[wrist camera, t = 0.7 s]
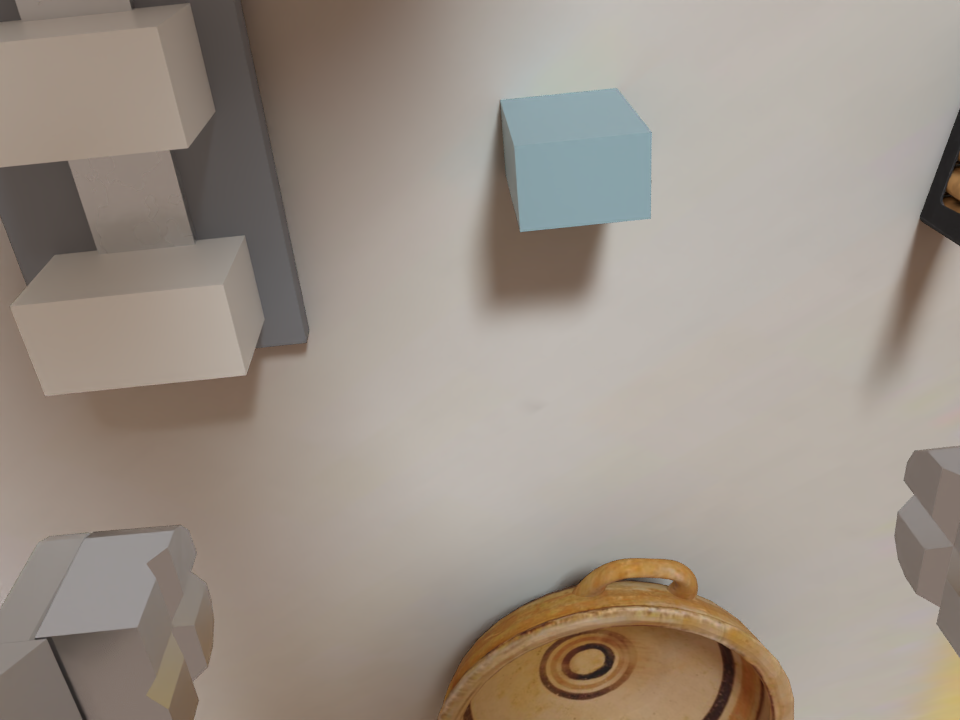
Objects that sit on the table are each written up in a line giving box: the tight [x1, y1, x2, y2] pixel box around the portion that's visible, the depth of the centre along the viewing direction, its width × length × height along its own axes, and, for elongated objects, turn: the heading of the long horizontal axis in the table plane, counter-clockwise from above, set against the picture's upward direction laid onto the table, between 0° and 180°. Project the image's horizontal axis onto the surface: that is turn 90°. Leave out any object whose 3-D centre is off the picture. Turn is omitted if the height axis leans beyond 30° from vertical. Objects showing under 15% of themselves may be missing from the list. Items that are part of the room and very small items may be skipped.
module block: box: [500, 88, 652, 232], centre depth 43 cm, size 4×6×8 cm, turn 95°
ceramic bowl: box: [437, 558, 794, 720], centre depth 63 cm, size 30×24×8 cm
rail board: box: [0, 0, 309, 396], centre depth 43 cm, size 20×14×8 cm
